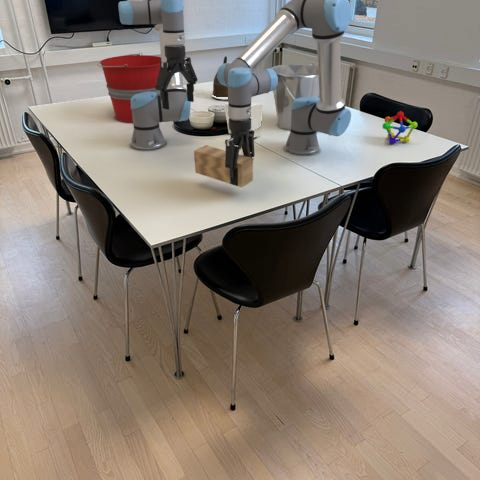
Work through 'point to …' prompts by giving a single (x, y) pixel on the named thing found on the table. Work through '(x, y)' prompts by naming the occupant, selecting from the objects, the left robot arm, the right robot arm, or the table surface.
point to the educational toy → (398, 128)
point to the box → (222, 165)
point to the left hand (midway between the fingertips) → (178, 105)
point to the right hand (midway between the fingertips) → (240, 180)
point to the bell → (220, 86)
